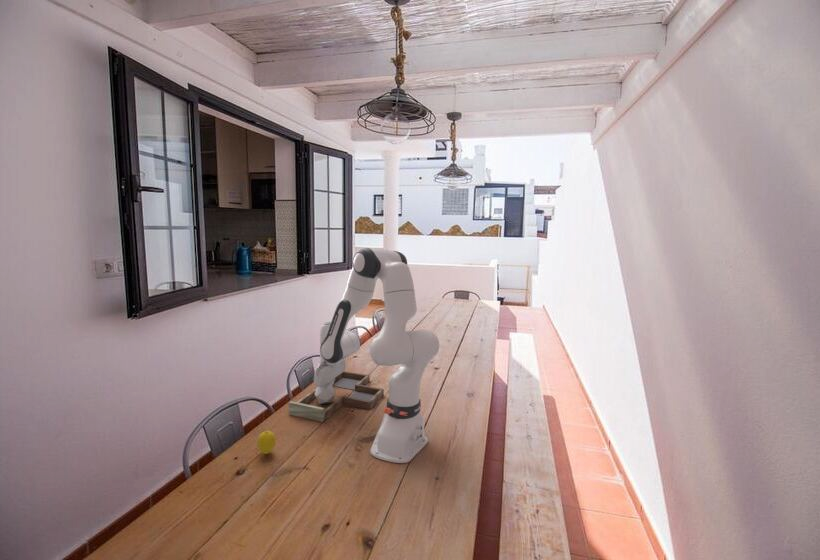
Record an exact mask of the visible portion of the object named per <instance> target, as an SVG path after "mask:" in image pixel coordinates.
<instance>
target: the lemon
mask: <svg viewBox="0 0 820 560" xmlns="http://www.w3.org/2000/svg"><path fill="white" fill-rule="evenodd" d="M256 443H257V449H258V451H259V452H260V453H262V454H264V455H268V454H270V453H271V452H272V451H273V450H274V449H275V447H276V443H277V442H276V436H275V434H274V432H272V431H270V430H264V431H263V432H262V433H260V434H259V436H258V439H257V442H256Z"/></svg>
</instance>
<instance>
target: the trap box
mask: <svg viewBox="0 0 820 560" xmlns="http://www.w3.org/2000/svg"><path fill="white" fill-rule="evenodd" d="M342 378H349V379H354V380H360V381H359V382H358V383H357V384H356V385H355V390H354V392H355V391H356V392H362V393H367V394H373V395H374V396H373V397H372V398H371V399H370V400H369V401H367V400H362V399H357V398H351V397H349V396H345V395H341V396H339V398H338V399H336V400H335V401H334V402H333V403H331V404H330V405H329V406H327V408H325V407H321V406H316V405H312V404H309V402H311V401H312V400H314V399H315V398H316V396H315V392H316V389H317V387H315V388H314V389H313V390H312V391H310V392H309V393H307V394H305V395H304V396H302V397H301V398H299V400H297V401H293V400H292V401H288V415H290V416H296V417H301V418H304V419H310V420H314V421H318V422H322V423H323V422H324V421H326V420H327V419H328V418H329V417H330V416H331V415H332V414H333V413H335V412H336V411H337V410H338V409H339V408H341V407H342V406H343V405H346V406H352V407H357V408H362V409H367V410H371V409H372V408H373V407H374V406H376V404H377V403H378V402H379V401H380V400H381V398H382V397H383V396H384V395H385V393H384V391H385V389H384V388H380V387H375V386H369V385H367V384H368V383H369V382H370V374H364V373H358V372H352V371H346V370H345V371H344V372H343V373H341V374H340V375H338V376H337V377H336V378H335V381H334V384H335V383H336V382H337V381H339V380H340V379H342Z"/></svg>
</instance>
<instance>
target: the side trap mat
mask: <svg viewBox="0 0 820 560" xmlns="http://www.w3.org/2000/svg"><path fill="white" fill-rule="evenodd" d="M373 396H374V395H373V394H367V393H362V392H356V391H355V390H354V392H353V393H352V394H350V395H349V396H348V397H351V398H357V399H362V400H367V401H369V400H370V399H371V398H372V397H373Z"/></svg>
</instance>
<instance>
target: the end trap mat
mask: <svg viewBox="0 0 820 560" xmlns="http://www.w3.org/2000/svg"><path fill="white" fill-rule="evenodd" d="M359 381H360V380H354V379H349V378H341V379H340V380H338V381H337V382H336V383H334V384H333V388H334V387H335V388H340V389H347V390H351V391H355V385H356V384H357V383H358V382H359Z"/></svg>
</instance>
